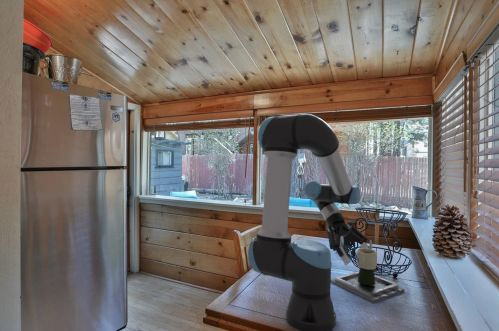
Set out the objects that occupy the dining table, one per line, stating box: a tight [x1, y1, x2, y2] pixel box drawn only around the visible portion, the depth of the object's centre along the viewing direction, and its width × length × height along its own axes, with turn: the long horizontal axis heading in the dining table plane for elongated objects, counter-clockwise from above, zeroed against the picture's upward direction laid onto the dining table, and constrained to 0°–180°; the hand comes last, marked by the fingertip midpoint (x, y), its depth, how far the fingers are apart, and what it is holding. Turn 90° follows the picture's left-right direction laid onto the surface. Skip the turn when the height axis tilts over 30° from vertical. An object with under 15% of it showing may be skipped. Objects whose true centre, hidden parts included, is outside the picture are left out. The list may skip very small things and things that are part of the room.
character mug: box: [356, 247, 378, 285], centre depth 115 cm, size 11×7×13 cm, turn 142°
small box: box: [340, 231, 356, 257], centre depth 157 cm, size 11×6×10 cm, turn 175°
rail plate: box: [331, 271, 405, 304], centre depth 115 cm, size 18×20×2 cm
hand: (359, 260), depth 119 cm, fingers open, 13 cm apart
